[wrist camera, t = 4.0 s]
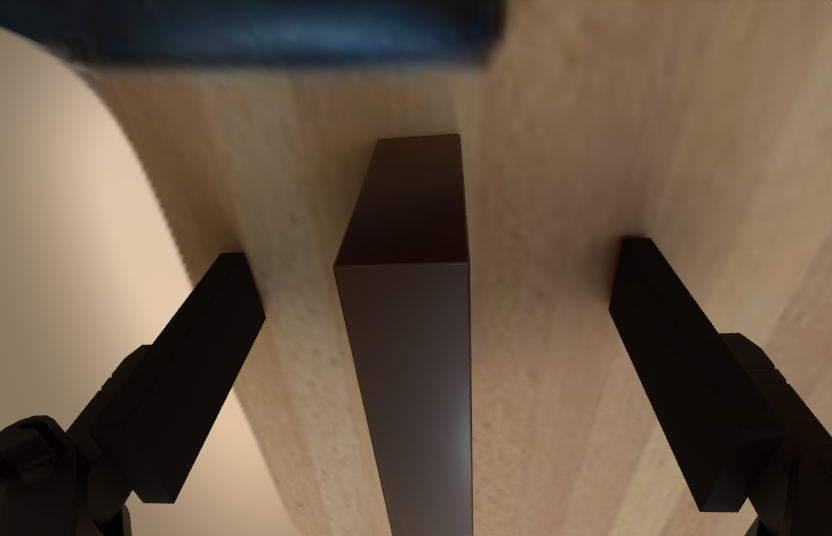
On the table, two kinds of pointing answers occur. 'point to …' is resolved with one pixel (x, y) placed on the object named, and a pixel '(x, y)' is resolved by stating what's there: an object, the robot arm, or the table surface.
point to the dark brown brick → (413, 330)
